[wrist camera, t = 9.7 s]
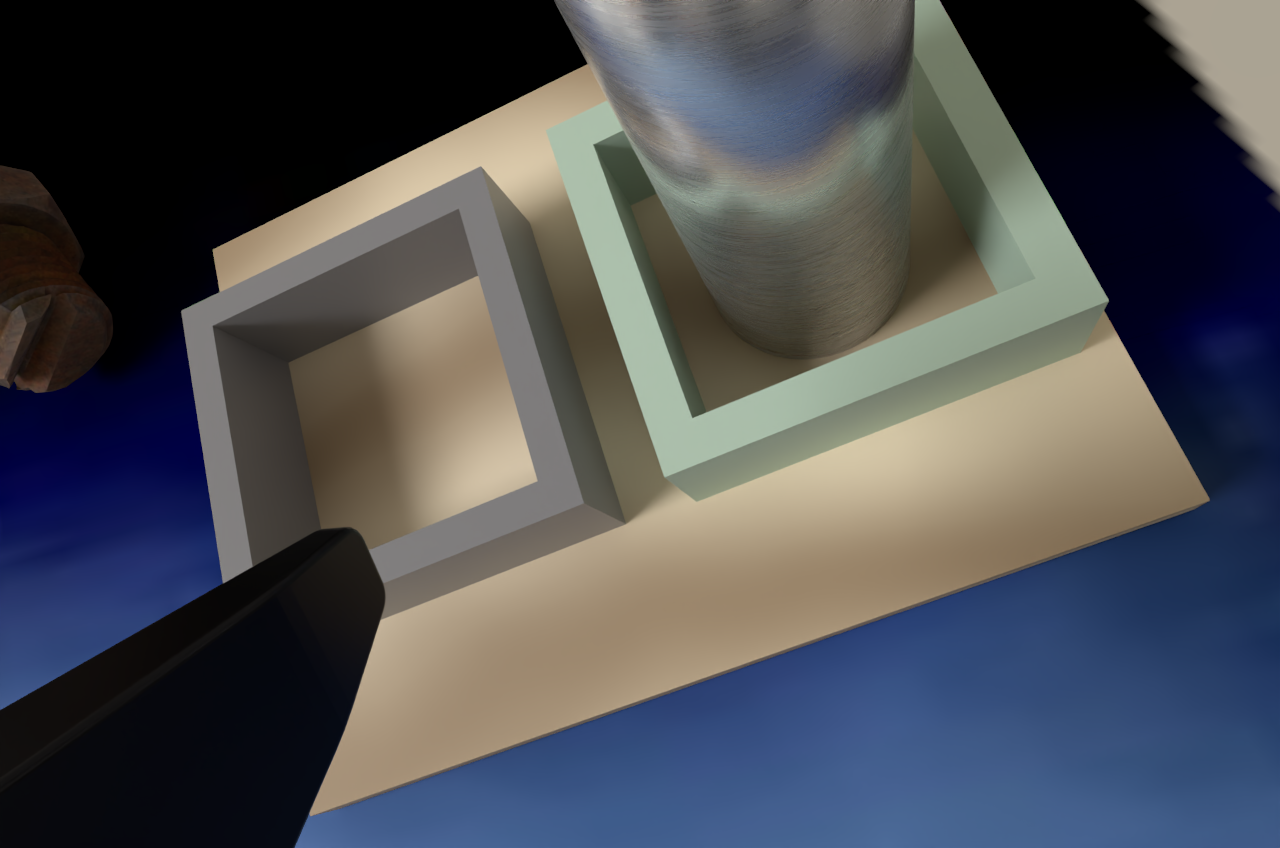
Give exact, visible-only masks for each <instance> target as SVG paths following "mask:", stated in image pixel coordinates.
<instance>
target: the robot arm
mask: <svg viewBox="0 0 1280 848" xmlns="http://www.w3.org/2000/svg"><path fill="white" fill-rule="evenodd" d="M385 600H386V594H385V588H384V584H383V581H382V579H381V577H380V574H379V572H378V570H377V568H376V565H375V563H374V561H373V559H372V556H371V554H370V552H369V549H368V547H367V545H366V543H365V540H364V538H363V537H362V535H361V534H360V533H359V532H358V531H357V530H356V529H354V528H352V527H339V528H326V529H320V530H317V531H315V532H313V533H311V534H309V535H307V536H306V537H304V538H302V539H300V540H299V541H297V542H295V543H293V544H292V545H290V546H288V547H286V548H285V549H283V550H281V551H279V552H278V553H276V554H274V555H272V556H271V557H269V558H267V559H265V560H264V561H262V562H260V563H258V564H256V565H255V566H253V567H251V568H249V569H248V570H246V571H244V572H242V573H241V574H239V575H237V576H235V577H234V578H232V579H230V580H228V581H227V582H225V583H223V584H221V585H220V586H218V587H216V588H214V589H213V590H211V591H209V592H207V593H206V594H204V595H202V596H200V597H198V598H197V599H195V600H193V601H191V602H190V603H188V604H186V605H184V606H183V607H181V608H179V609H177V610H176V611H174V612H172V613H170V614H169V615H167V616H165V617H163V618H162V619H160V620H158V621H156V622H155V623H153V624H151V625H149V626H148V627H146V628H144V629H142V630H140V631H139V632H137V633H135V634H133V635H132V636H130V637H128V638H126V639H125V640H123V641H121V642H119V643H118V644H116V645H114V646H112V647H111V648H109V649H107V650H105V651H104V652H102V653H100V654H98V655H97V656H95V657H93V658H91V659H90V660H88V661H86V662H84V663H82V664H81V665H79V666H77V667H75V668H74V669H72V670H70V671H68V672H67V673H65V674H63V675H61V676H60V677H58V678H56V679H54V680H53V681H51V682H49V683H47V684H46V685H44V686H42V687H40V688H39V689H37V690H35V691H33V692H32V693H30V694H28V695H26V696H24V697H23V698H21V699H19V700H17V701H16V702H14V703H12V704H10V705H9V706H7V707H5V708H3V709H2V710H0V848H295V845H296V843H297V841H298V838H299V836H300V834H301V831H302V829H303V827H304V825H305V822H306V820H307V818H308V815H309V813H310V811H311V808H312V806H313V804H314V801H315V799H316V797H317V795H318V792H319V790H320V788H321V785H322V783H323V781H324V778H325V776H326V774H327V771H328V769H329V767H330V764H331V762H332V760H333V758H334V755H335V753H336V751H337V748H338V746H339V743H340V741H341V738H342V736H343V733H344V731H345V728H346V725H347V722H348V720H349V717H350V714H351V711H352V708H353V705H354V702H355V699H356V696H357V692H358V689H359V686H360V683H361V680H362V677H363V674H364V671H365V667H366V664H367V661H368V658H369V655H370V652H371V649H372V645H373V642H374V639H375V636H376V633H377V630H378V627H379V624H380V620H381V617H382V614H383V611H384V607H385Z"/></svg>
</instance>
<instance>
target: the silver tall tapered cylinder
mask: <svg viewBox="0 0 1280 848" xmlns="http://www.w3.org/2000/svg"><path fill="white" fill-rule="evenodd" d="M554 1H555V3H556V5H557V6H558V8H559V10H560V12H561V14H562V16H563V18H564V20H565V22H566V23H567V25H568V27H569V29H570V31H571V33H572V35H573V37H574V38H575V40H576V42H577V44H578V46H579V48H580V50H581V52H582V54H583V55H584V57H585V59H586V61H587V63H588V65H589V67H590V69H591V71H592V72H593V74H594V76H595V78H596V80H597V82H598V84H599V86H600V87H601V89H602V91H603V93H604V95H605V97H606V99H607V101H608V103H609V104H610V106H611V108H612V110H613V112H614V114H615V116H616V118H617V119H618V121H619V123H620V125H621V127H622V129H623V131H624V133H625V135H626V136H627V138H628V140H629V142H630V144H631V146H632V148H633V150H634V152H635V153H636V155H637V157H638V159H639V161H640V163H641V165H642V167H643V168H644V170H645V172H646V174H647V176H648V178H649V180H650V182H651V184H652V185H653V187H654V189H655V191H656V193H657V195H658V197H659V199H660V200H661V202H662V204H663V206H664V208H665V210H666V212H667V214H668V216H669V217H670V219H671V221H672V223H673V225H674V227H675V229H676V231H677V233H678V234H679V236H680V238H681V240H682V242H683V244H684V246H685V248H686V249H687V251H688V253H689V255H690V257H691V259H692V261H693V263H694V265H695V266H696V268H697V270H698V272H699V274H700V276H701V278H702V280H703V282H704V283H705V285H706V287H707V289H708V291H709V293H710V295H711V297H712V298H713V300H714V302H715V304H716V306H717V308H718V310H719V312H720V313H721V315H722V317H723V318H724V320H725V322H726V323H727V324H728V325H729V327H730V328H731V329H732V330H733V331H734V332H735V333H736V334H737V335H738V336H739V337H740V338H741V339H742V340H744V341H745V342H747V343H748V344H750V345H751V346H753V347H755V348H757V349H759V350H761V351H763V352H765V353H768V354H771V355H774V356H777V357H783V358H788V359H800V360H805V359H818V358H823V357H829V356H832V355H835V354H839V353H842V352H844V351H846V350H849V349H851V348H853V347H855V346H857V345H858V344H860V343H862V342H863V341H865V340H867V339H868V338H869V337H870V336H872V335H873V334H874V333H875V332H877V331H878V330H879V329H880V328H881V327H882V326H883V325H884V324H885V323H886V322H887V320H888V319H889V318H890V316H891V315H892V314H893V312H894V311H895V309H896V308H897V306H898V304H899V302H900V301H901V298H902V296H903V293H904V291H905V288H906V285H907V281H908V277H909V268H910V234H911V182H912V129H913V77H914V25H915V0H554Z"/></svg>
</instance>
